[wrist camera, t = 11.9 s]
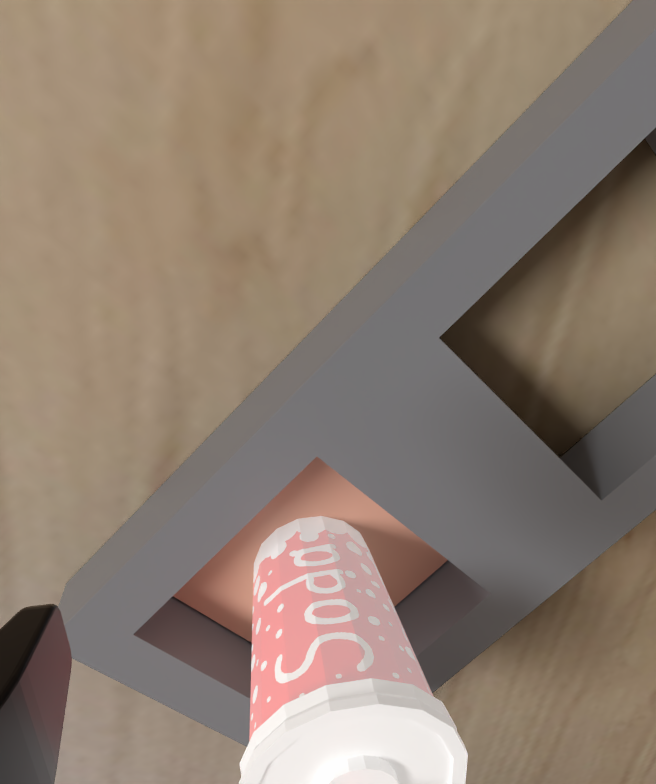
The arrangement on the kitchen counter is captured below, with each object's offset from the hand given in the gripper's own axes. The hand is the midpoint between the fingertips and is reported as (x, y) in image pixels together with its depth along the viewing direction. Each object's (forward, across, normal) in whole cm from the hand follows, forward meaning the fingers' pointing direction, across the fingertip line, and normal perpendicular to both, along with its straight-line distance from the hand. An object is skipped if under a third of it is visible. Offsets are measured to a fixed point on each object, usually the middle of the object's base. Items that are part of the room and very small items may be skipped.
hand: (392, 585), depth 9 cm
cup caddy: (+13, -5, +5) cm, 15 cm away
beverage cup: (+13, 0, +10) cm, 16 cm away
